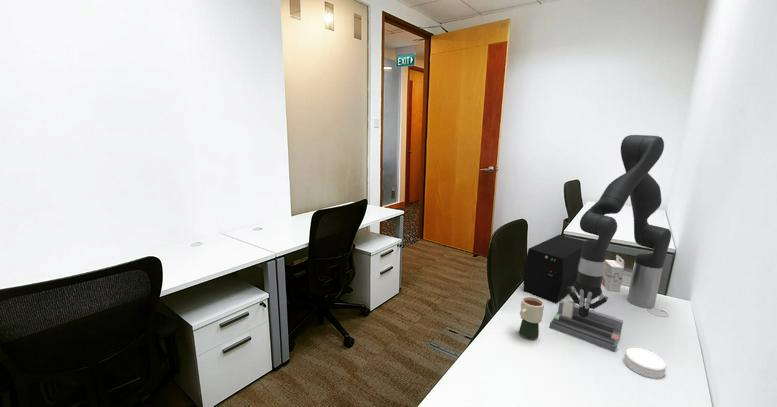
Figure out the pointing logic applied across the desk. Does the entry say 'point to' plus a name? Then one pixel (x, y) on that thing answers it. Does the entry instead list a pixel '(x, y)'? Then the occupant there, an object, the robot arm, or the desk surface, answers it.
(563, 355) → the desk surface
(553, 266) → the uninterruptible power supply
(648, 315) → the desk surface
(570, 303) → the handle
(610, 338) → the grey slider panel
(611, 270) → the ink cartridge box
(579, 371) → the desk surface
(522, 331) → the character mug
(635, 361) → the white round disc
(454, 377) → the desk surface
